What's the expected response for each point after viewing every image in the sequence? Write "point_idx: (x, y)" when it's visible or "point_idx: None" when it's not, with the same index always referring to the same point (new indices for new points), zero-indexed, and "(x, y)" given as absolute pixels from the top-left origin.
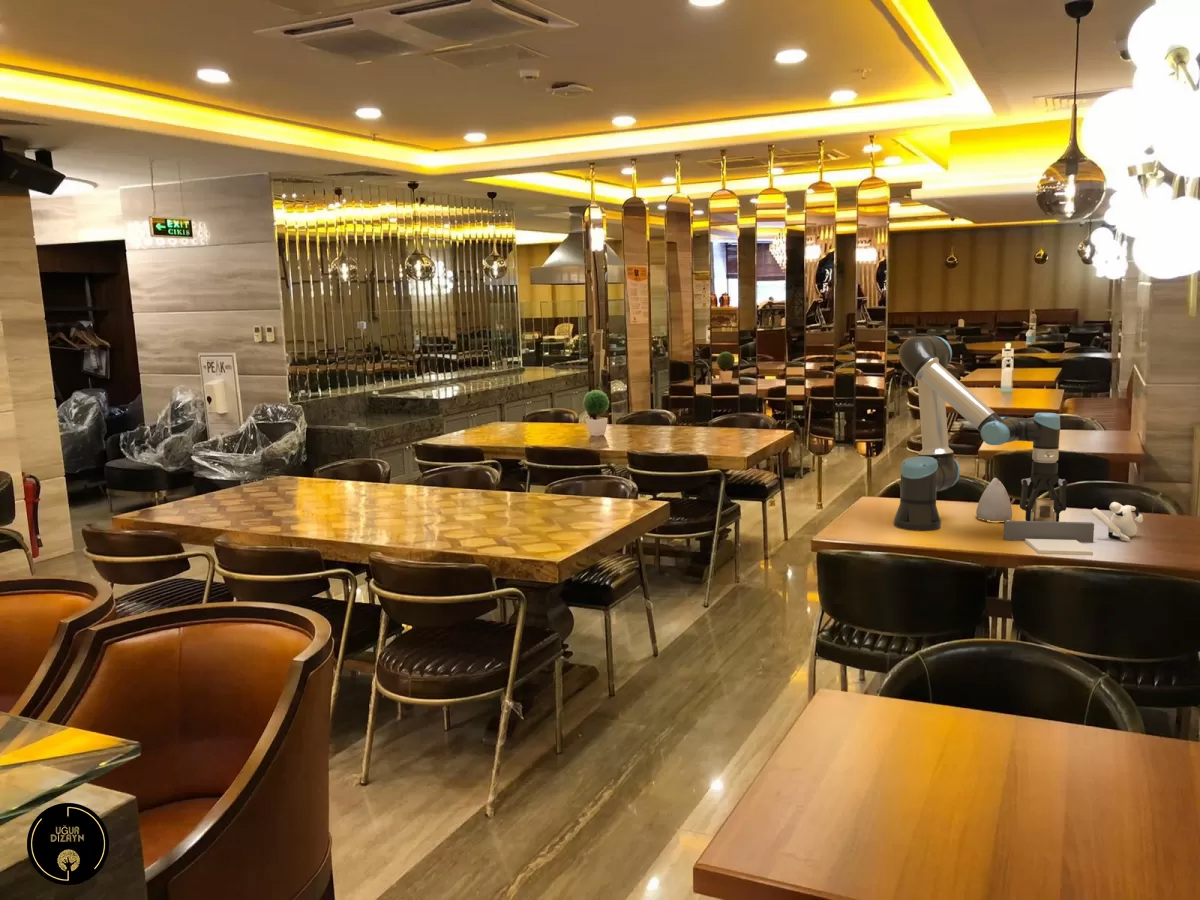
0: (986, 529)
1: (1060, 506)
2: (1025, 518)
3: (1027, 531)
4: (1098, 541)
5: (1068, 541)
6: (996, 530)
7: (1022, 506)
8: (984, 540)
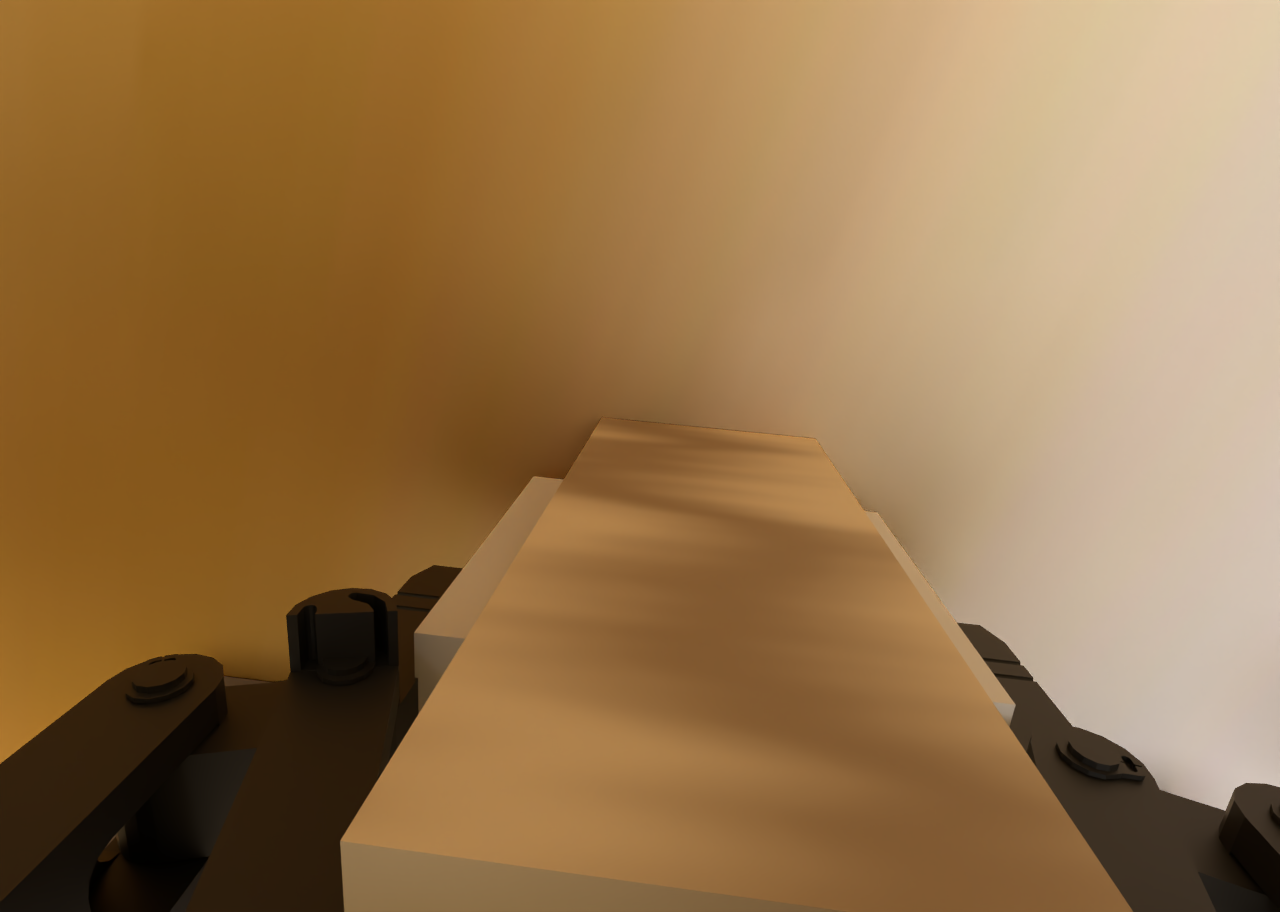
0: (62, 143)
1: (1262, 904)
2: (405, 591)
3: None
4: None
5: None
6: (190, 210)
7: (118, 891)
8: (17, 729)
